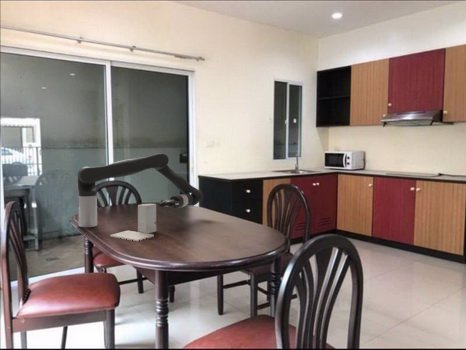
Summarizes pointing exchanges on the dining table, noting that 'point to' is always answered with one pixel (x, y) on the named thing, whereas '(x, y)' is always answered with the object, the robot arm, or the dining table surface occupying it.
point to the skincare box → (147, 218)
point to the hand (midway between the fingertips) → (159, 205)
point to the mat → (132, 235)
